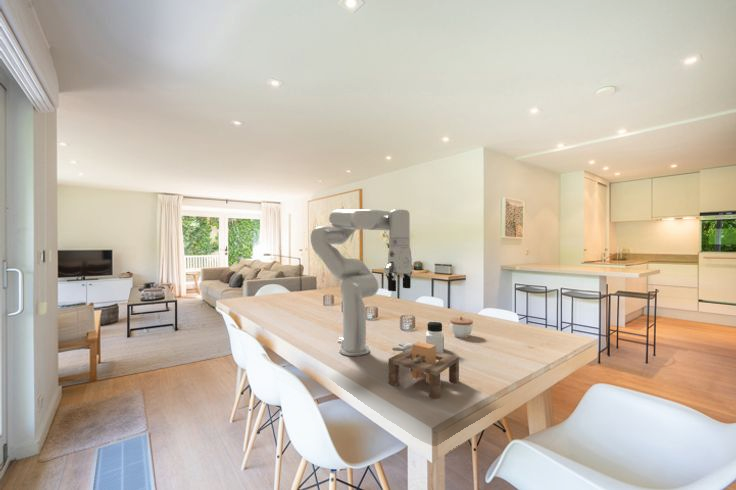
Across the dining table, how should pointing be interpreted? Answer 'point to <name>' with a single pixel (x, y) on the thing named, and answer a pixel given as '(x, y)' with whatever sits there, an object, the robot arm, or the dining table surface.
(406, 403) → the dining table surface
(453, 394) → the dining table surface
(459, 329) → the lidded jar
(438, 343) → the medicine bottle
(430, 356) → the orange boxy part
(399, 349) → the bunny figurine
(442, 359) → the brown square frame
